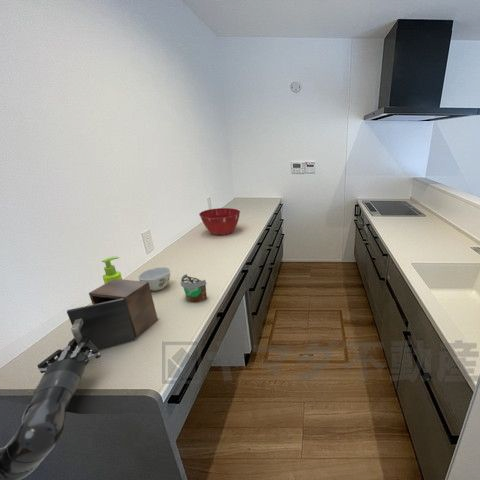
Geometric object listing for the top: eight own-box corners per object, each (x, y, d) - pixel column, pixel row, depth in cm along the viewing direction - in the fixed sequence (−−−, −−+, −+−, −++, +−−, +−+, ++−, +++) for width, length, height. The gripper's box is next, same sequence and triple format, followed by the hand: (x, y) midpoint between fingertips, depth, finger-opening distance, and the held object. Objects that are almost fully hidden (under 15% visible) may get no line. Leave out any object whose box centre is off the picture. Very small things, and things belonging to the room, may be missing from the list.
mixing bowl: (247, 227, 210) (245, 208, 205) (233, 239, 184) (230, 218, 178) (213, 225, 213) (211, 207, 207) (194, 237, 186) (191, 216, 181)
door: (133, 350, 86) (120, 308, 80) (79, 366, 80) (60, 321, 74) (135, 338, 92) (123, 298, 86) (84, 352, 85) (67, 309, 79)
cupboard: (137, 338, 92) (125, 297, 86) (102, 333, 94) (88, 293, 88) (158, 320, 101) (148, 281, 95) (126, 316, 103) (114, 278, 97)
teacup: (154, 280, 130) (151, 266, 127) (178, 282, 128) (175, 267, 126) (131, 297, 116) (126, 281, 113) (158, 299, 114) (154, 283, 112)
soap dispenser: (133, 298, 115) (121, 257, 108) (116, 307, 109) (103, 263, 102) (125, 295, 117) (113, 254, 110) (108, 303, 111) (94, 260, 104)
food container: (177, 300, 114) (173, 279, 111) (189, 293, 119) (185, 273, 116) (197, 307, 109) (193, 286, 106) (209, 299, 114) (205, 279, 111)
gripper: (27, 406, 63) (55, 356, 78) (98, 384, 69) (111, 341, 84) (14, 383, 61) (46, 336, 75) (89, 362, 67) (105, 322, 81)
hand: (80, 339), depth 79 cm, fingers closed on door
